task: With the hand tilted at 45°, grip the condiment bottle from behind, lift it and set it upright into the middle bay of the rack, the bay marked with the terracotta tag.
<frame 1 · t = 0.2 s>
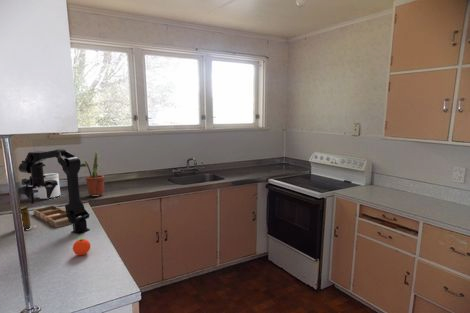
hand: (40, 201, 164), 14 cm above the worktop, tool pointing down, fingers open, 9 cm apart
utensil holder: (49, 197, 224), on the worktop
clementine: (82, 254, 130), on the worktop
condiment: (25, 229, 162), on the worktop
potted plant: (93, 196, 225), on the worktop
rack: (55, 217, 178), on the worktop
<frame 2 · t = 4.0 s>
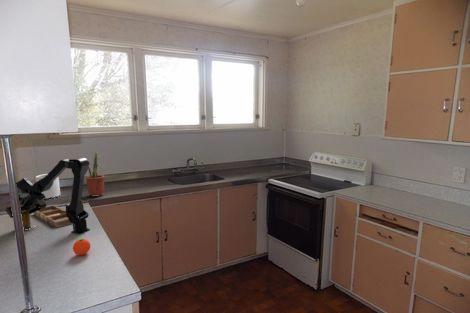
hand: (21, 216, 161), 7 cm above the worktop, tool tilted 45°, fingers closed on condiment, 6 cm apart
condiment: (25, 228, 162), on the worktop, touching gripper
everything else where it was.
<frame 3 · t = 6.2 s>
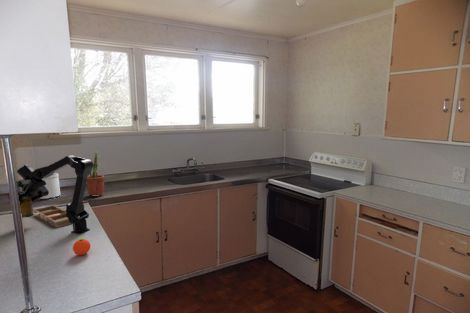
hand: (23, 203, 163), 13 cm above the worktop, tool tilted 45°, fingers closed on condiment, 6 cm apart
condiment: (28, 215, 163), point 6 cm above the worktop, touching gripper
everything else where it was.
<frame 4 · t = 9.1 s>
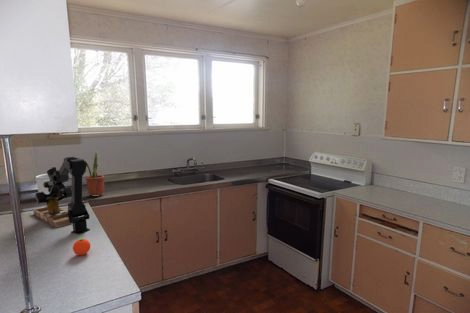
hand: (51, 202, 178), 9 cm above the worktop, tool tilted 45°, fingers closed on condiment, 6 cm apart
condiment: (55, 213, 178), point 3 cm above the worktop, touching gripper, rack
everything else where it was.
when the fingers open (9 cm above the worktop, at t = 9.1 s): condiment stays where it is, resting on rack.
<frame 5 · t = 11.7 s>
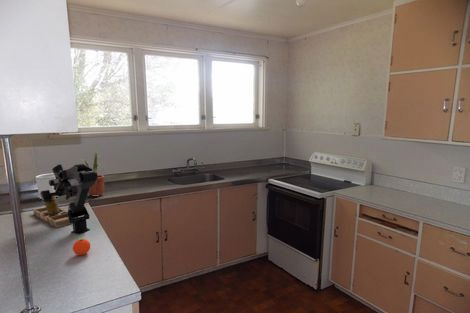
hand: (57, 201, 172), 12 cm above the worktop, tool tilted 45°, fingers open, 9 cm apart
condiment: (55, 214, 178), point 2 cm above the worktop, touching rack
everything else where it was.
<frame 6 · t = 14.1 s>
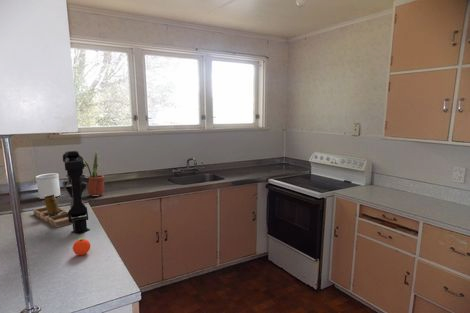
hand: (75, 199, 171), 13 cm above the worktop, tool pointing down, fingers open, 9 cm apart
nothing on the worktop moved.
at the end: condiment 0.4 cm off-centre on the rack, point 1.9 cm above the rack's base; condiment tilted 14°; the gripper is holding nothing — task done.
